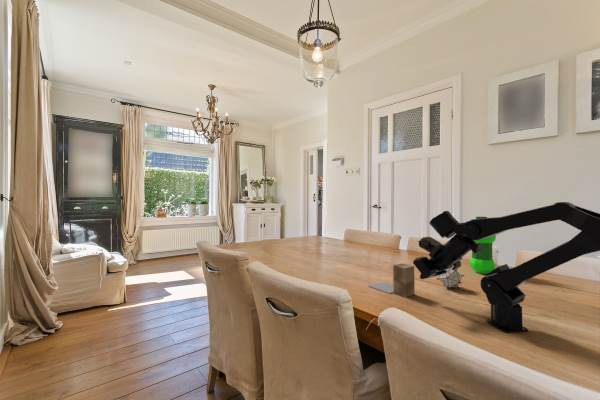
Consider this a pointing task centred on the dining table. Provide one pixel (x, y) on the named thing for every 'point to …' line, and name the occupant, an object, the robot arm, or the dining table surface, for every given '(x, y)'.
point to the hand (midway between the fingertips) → (421, 277)
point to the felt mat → (383, 287)
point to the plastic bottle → (483, 255)
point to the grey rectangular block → (403, 280)
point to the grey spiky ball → (451, 278)
